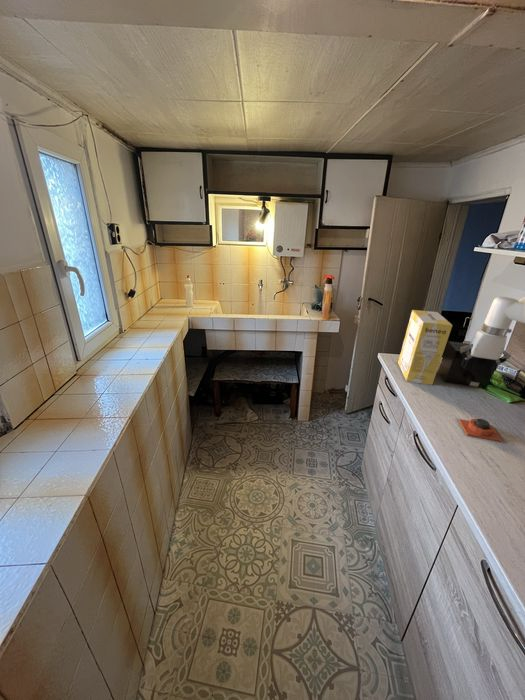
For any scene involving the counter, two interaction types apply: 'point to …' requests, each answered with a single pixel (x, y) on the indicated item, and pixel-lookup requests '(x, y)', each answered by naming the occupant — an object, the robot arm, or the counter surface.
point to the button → (482, 424)
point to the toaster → (456, 373)
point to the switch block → (479, 430)
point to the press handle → (471, 380)
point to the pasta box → (423, 346)
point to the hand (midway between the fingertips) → (477, 369)
